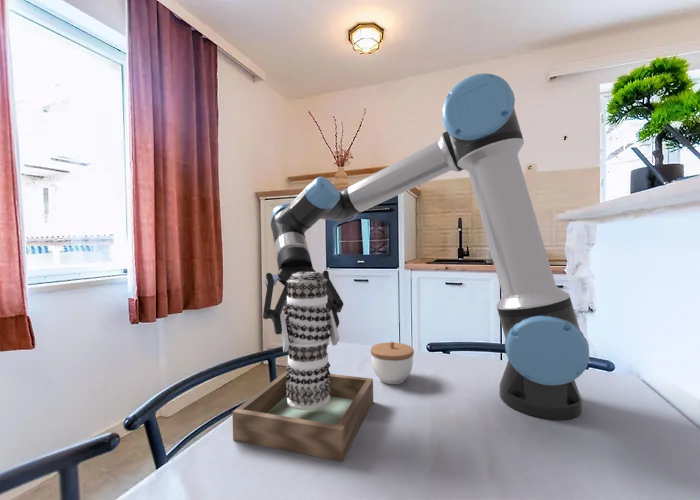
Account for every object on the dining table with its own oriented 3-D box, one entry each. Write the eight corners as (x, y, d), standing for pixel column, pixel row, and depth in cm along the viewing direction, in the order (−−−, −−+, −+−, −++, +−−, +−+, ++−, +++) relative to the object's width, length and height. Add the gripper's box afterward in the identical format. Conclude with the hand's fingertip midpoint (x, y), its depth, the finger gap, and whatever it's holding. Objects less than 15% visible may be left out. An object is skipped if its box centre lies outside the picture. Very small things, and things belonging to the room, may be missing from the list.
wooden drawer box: (373, 401, 71) (372, 378, 71) (342, 461, 52) (341, 430, 52) (288, 390, 77) (288, 369, 77) (233, 439, 58) (232, 411, 58)
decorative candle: (274, 400, 64) (272, 273, 64) (310, 385, 71) (309, 269, 71) (305, 416, 58) (303, 275, 58) (341, 398, 65) (339, 272, 64)
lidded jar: (413, 390, 76) (413, 350, 76) (368, 386, 79) (367, 347, 78) (414, 372, 87) (413, 337, 87) (373, 369, 89) (373, 335, 89)
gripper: (334, 265, 82) (359, 347, 68) (243, 269, 74) (250, 362, 60) (341, 244, 77) (370, 328, 63) (244, 245, 69) (252, 341, 55)
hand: (311, 344), depth 61 cm, fingers closed on decorative candle, 9 cm apart
